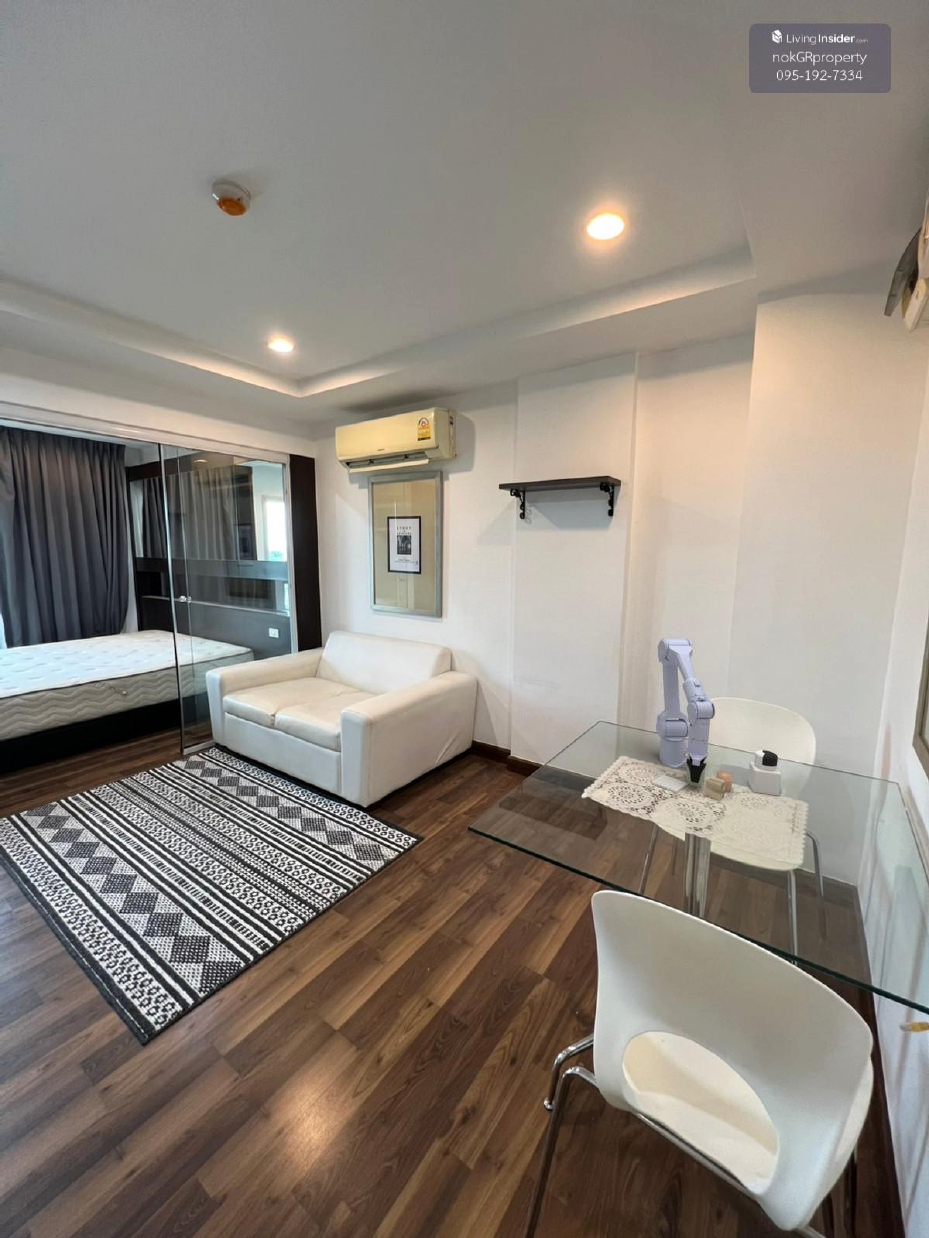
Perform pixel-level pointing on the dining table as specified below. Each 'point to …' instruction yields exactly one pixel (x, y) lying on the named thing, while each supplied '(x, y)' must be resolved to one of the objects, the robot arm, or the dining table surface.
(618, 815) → the dining table surface
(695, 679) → the robot arm
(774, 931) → the dining table surface
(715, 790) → the maple block
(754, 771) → the medicine bottle
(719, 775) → the terracotta cylinder
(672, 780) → the coaster
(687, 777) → the green block
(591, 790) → the dining table surface
